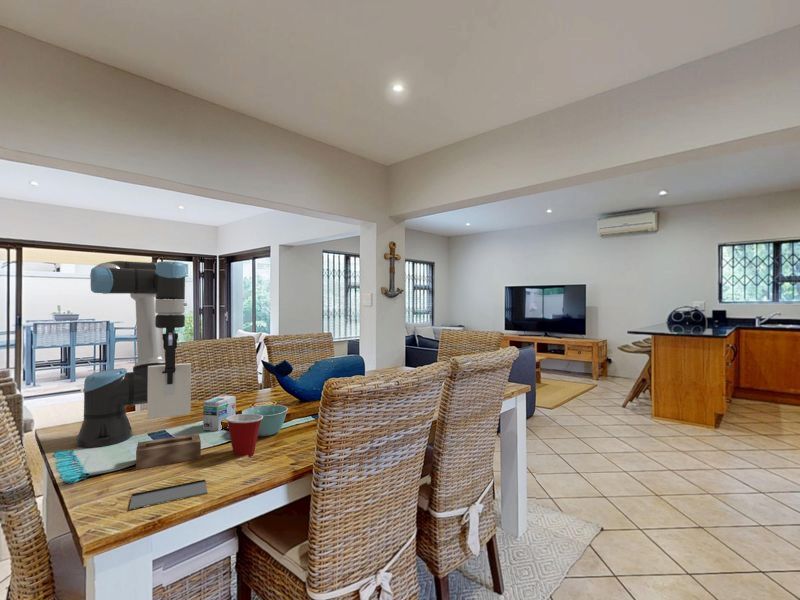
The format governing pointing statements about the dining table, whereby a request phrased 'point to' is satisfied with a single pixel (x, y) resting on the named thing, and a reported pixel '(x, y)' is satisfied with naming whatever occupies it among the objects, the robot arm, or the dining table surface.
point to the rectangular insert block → (171, 403)
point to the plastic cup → (244, 433)
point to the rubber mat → (168, 494)
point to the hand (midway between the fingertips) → (169, 393)
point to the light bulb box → (217, 411)
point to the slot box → (168, 451)
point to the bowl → (269, 418)
